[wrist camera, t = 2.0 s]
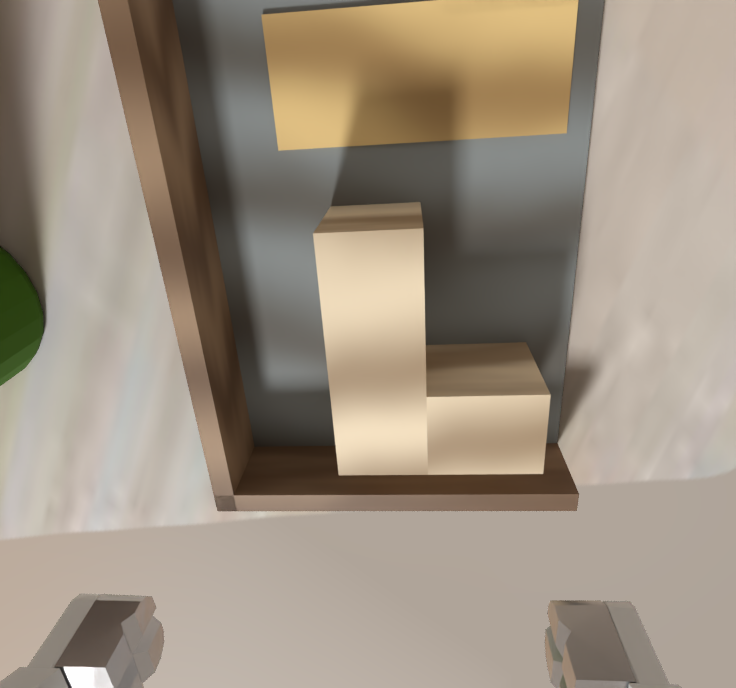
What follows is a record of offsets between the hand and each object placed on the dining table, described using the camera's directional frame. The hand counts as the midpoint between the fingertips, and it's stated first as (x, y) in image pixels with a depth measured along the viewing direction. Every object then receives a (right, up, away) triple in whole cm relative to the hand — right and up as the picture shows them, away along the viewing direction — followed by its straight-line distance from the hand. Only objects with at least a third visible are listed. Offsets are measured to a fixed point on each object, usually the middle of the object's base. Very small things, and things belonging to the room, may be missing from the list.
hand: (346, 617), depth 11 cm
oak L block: (+4, +7, +15) cm, 17 cm away
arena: (+1, +12, +14) cm, 18 cm away
